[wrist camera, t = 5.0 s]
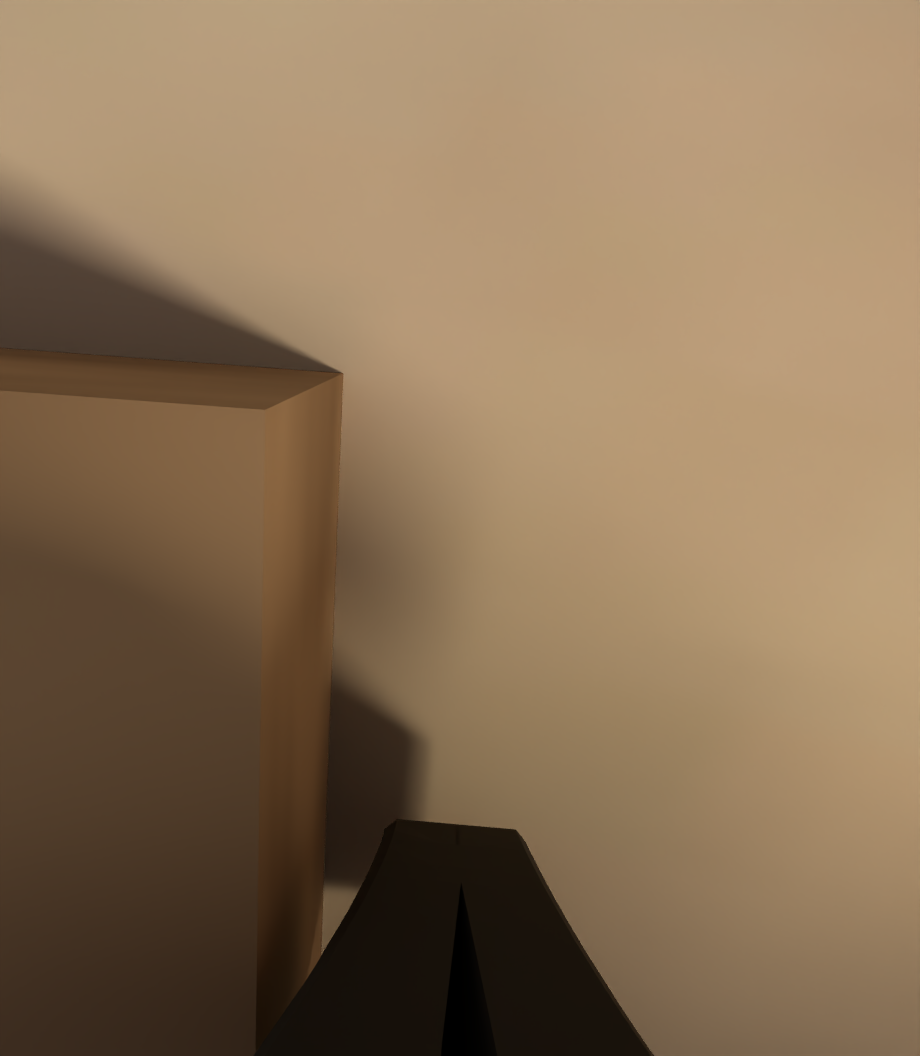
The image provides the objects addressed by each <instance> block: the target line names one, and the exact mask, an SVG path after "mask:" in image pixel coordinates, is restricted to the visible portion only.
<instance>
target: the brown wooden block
mask: <svg viewBox="0 0 920 1056" xmlns="http://www.w3.org/2000/svg"><path fill="white" fill-rule="evenodd" d="M342 391H343V373H332V372H319V371H305V370H292V369H278V368H265V367H251V366H238V365H224V364H211V363H197V362H184V361H170V360H157V359H143V358H130V357H116V356H103V355H89V354H76V353H62V352H49V351H35V350H22V349H8V348H0V1056H254V1054H255V1053H256V1051H257V1050H258V1049H259V1047H260V1046H261V1044H262V1043H263V1041H264V1040H265V1039H266V1037H267V1036H268V1034H269V1033H270V1031H271V1030H272V1028H273V1027H274V1026H275V1024H276V1023H277V1021H278V1020H279V1018H280V1017H281V1016H282V1014H283V1013H284V1011H285V1010H286V1008H287V1007H288V1006H289V1004H290V1003H291V1001H292V1000H293V998H294V997H295V996H296V994H297V993H298V991H299V990H300V988H301V987H302V985H303V984H304V982H305V981H306V979H307V978H308V976H309V975H310V973H311V972H312V970H313V969H314V967H315V965H316V964H317V962H318V960H319V959H320V957H321V941H322V914H323V888H324V862H325V836H326V810H327V784H328V757H329V731H330V705H331V679H332V653H333V626H334V600H335V574H336V548H337V522H338V495H339V469H340V443H341V417H342Z"/></svg>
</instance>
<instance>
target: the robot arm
mask: <svg viewBox="0 0 920 1056" xmlns="http://www.w3.org/2000/svg"><path fill="white" fill-rule="evenodd" d="M254 1056H654V1055H653V1054H652V1052H651V1051H650V1050H649V1048H648V1047H647V1045H646V1044H645V1042H644V1041H643V1039H642V1038H641V1036H640V1035H639V1033H638V1032H637V1030H636V1029H635V1027H634V1026H633V1024H632V1023H631V1022H630V1020H629V1019H628V1017H627V1016H626V1014H625V1013H624V1011H623V1010H622V1008H621V1006H620V1005H619V1003H618V1002H617V1000H616V999H615V997H614V995H613V994H612V992H611V991H610V989H609V988H608V986H607V984H606V983H605V981H604V980H603V978H602V977H601V975H600V974H599V972H598V970H597V969H596V967H595V966H594V964H593V963H592V961H591V959H590V958H589V956H588V955H587V953H586V951H585V950H584V948H583V946H582V945H581V943H580V941H579V940H578V938H577V936H576V935H575V933H574V931H573V930H572V928H571V926H570V925H569V923H568V921H567V919H566V918H565V916H564V914H563V912H562V911H561V909H560V907H559V905H558V903H557V902H556V900H555V898H554V896H553V895H552V893H551V891H550V889H549V887H548V885H547V884H546V882H545V880H544V878H543V876H542V874H541V872H540V870H539V868H538V866H537V864H536V863H535V861H534V859H533V857H532V855H531V853H530V851H529V848H528V846H527V844H526V842H525V841H524V839H523V838H522V837H521V836H520V834H519V833H518V832H517V831H516V830H514V829H503V828H491V827H480V826H468V825H457V824H445V823H434V822H422V821H411V820H399V819H397V820H396V821H394V822H393V823H392V824H390V825H389V826H388V827H386V828H385V829H384V833H383V837H382V840H381V843H380V846H379V848H378V851H377V853H376V856H375V858H374V861H373V863H372V865H371V867H370V870H369V872H368V874H367V876H366V878H365V880H364V882H363V884H362V886H361V888H360V890H359V891H358V893H357V895H356V897H355V899H354V901H353V903H352V905H351V907H350V908H349V910H348V912H347V914H346V915H345V917H344V919H343V920H342V922H341V924H340V925H339V927H338V929H337V930H336V932H335V934H334V935H333V937H332V939H331V940H330V942H329V944H328V945H327V947H326V949H325V950H324V952H323V954H322V955H321V957H320V959H319V960H318V962H317V964H316V965H315V967H314V969H313V970H312V972H311V973H310V975H309V976H308V978H307V979H306V981H305V982H304V984H303V985H302V987H301V988H300V990H299V991H298V993H297V994H296V996H295V997H294V998H293V1000H292V1001H291V1003H290V1004H289V1006H288V1007H287V1008H286V1010H285V1011H284V1013H283V1014H282V1016H281V1017H280V1018H279V1020H278V1021H277V1023H276V1024H275V1026H274V1027H273V1028H272V1030H271V1031H270V1033H269V1034H268V1036H267V1037H266V1039H265V1040H264V1041H263V1043H262V1044H261V1046H260V1047H259V1049H258V1050H257V1051H256V1053H255V1054H254Z"/></svg>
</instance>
